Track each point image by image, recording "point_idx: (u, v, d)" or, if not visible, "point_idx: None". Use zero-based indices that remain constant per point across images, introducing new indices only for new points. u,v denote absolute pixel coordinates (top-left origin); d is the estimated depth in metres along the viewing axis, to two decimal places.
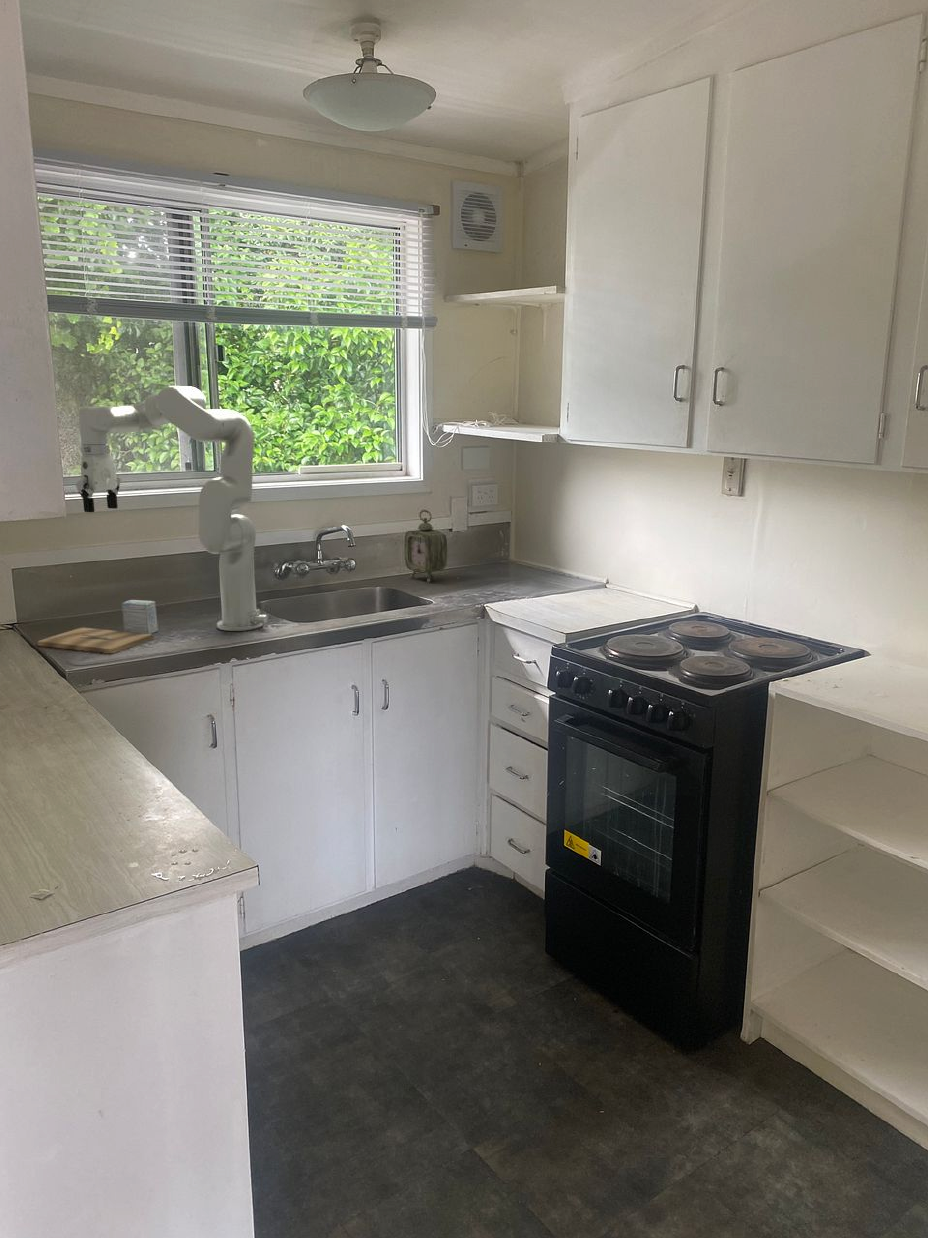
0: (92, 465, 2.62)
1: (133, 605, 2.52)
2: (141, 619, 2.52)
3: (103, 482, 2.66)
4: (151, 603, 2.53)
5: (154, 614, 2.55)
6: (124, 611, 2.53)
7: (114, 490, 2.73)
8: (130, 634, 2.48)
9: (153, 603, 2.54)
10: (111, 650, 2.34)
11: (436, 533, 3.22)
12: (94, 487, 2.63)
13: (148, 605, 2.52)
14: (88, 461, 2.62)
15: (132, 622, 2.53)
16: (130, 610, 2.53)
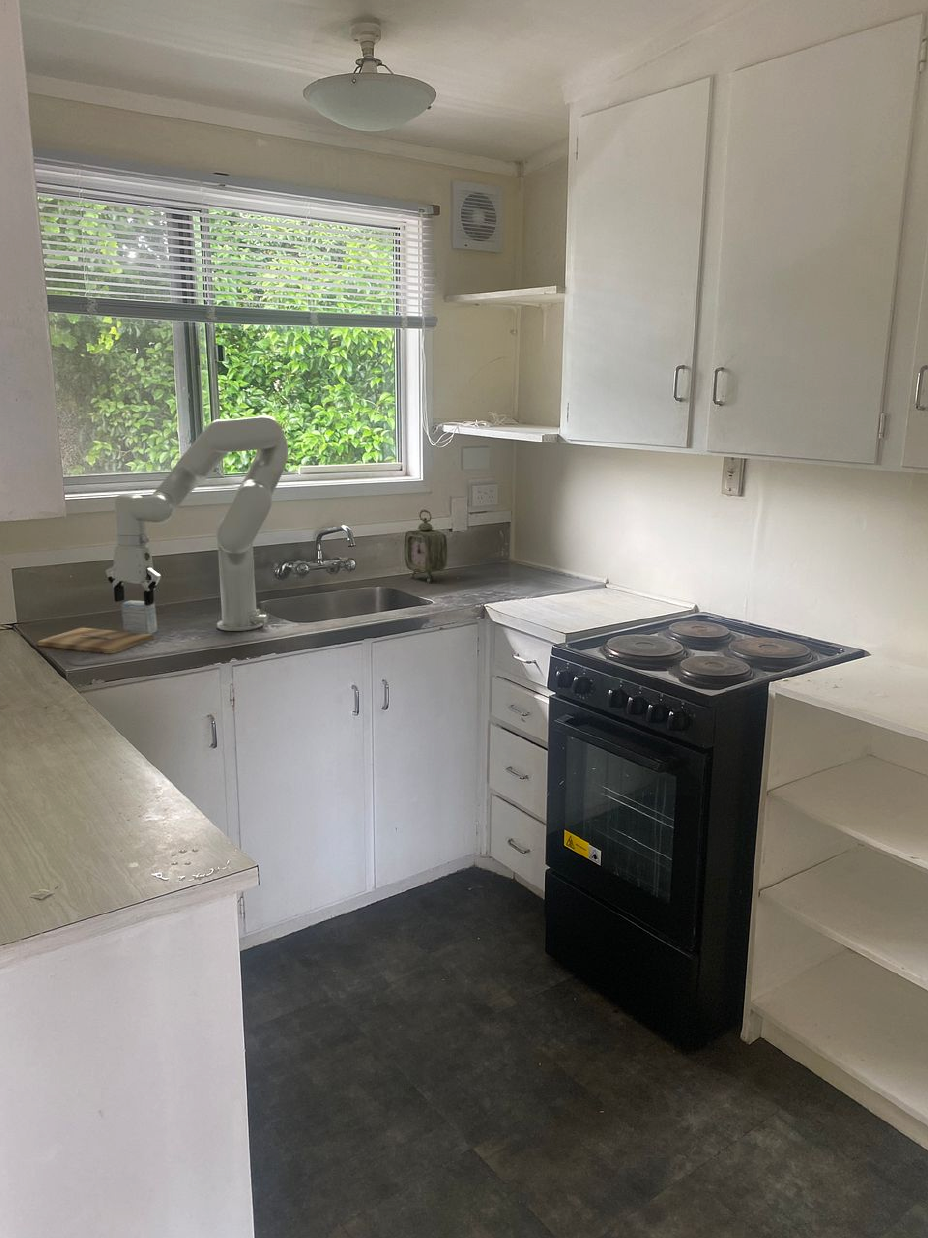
0: None
1: (132, 606, 2.52)
2: (141, 620, 2.52)
3: None
4: (150, 604, 2.53)
5: (153, 615, 2.55)
6: (123, 612, 2.53)
7: None
8: (130, 634, 2.48)
9: (152, 604, 2.54)
10: (111, 650, 2.34)
11: (436, 533, 3.22)
12: None
13: (148, 605, 2.52)
14: (149, 551, 2.50)
15: (132, 623, 2.53)
16: (129, 611, 2.53)
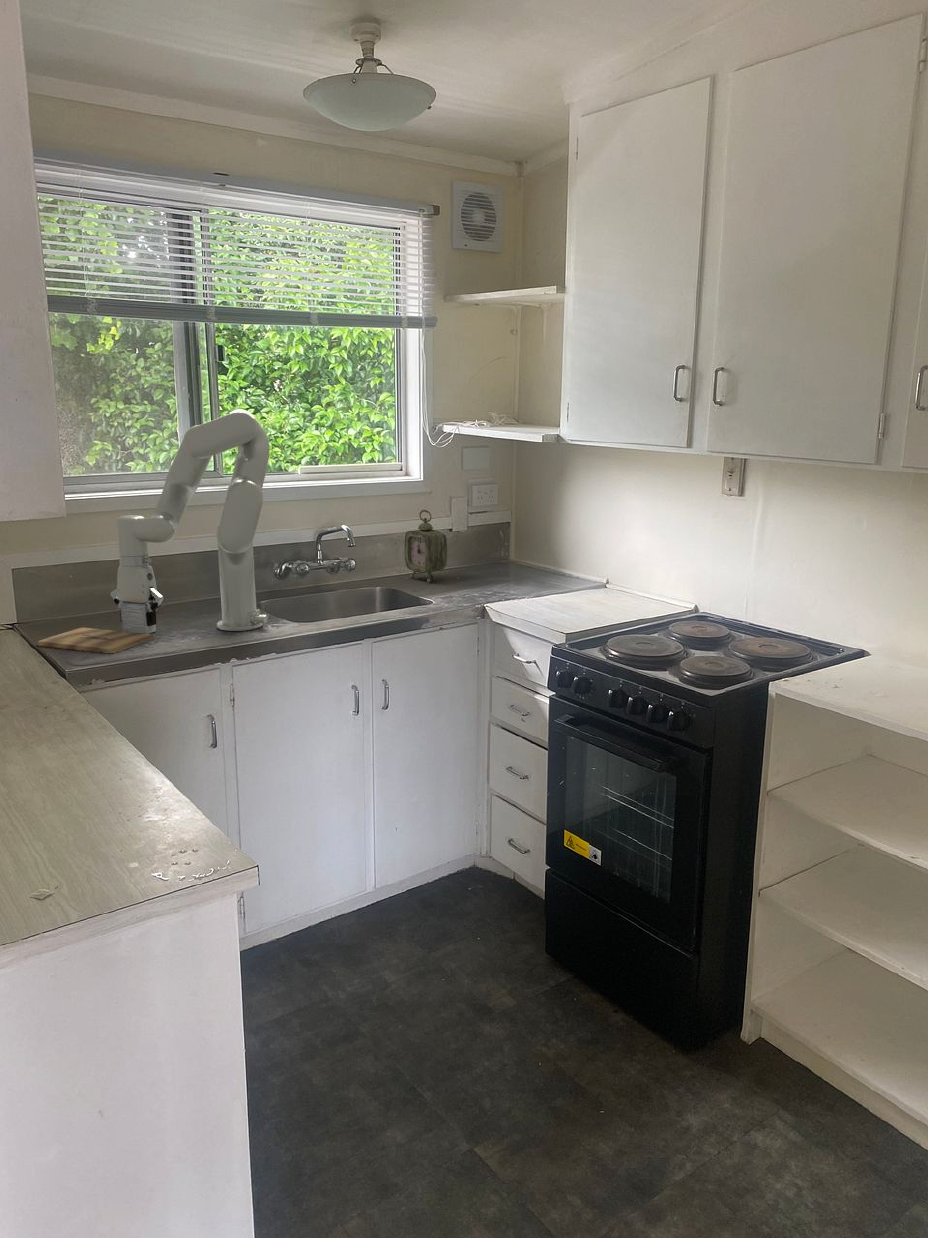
0: None
1: (131, 605, 2.52)
2: (139, 619, 2.52)
3: None
4: (149, 603, 2.53)
5: None
6: (122, 611, 2.53)
7: None
8: (130, 634, 2.48)
9: None
10: (111, 650, 2.34)
11: (436, 533, 3.22)
12: None
13: None
14: (151, 571, 2.51)
15: (130, 622, 2.53)
16: (128, 610, 2.53)
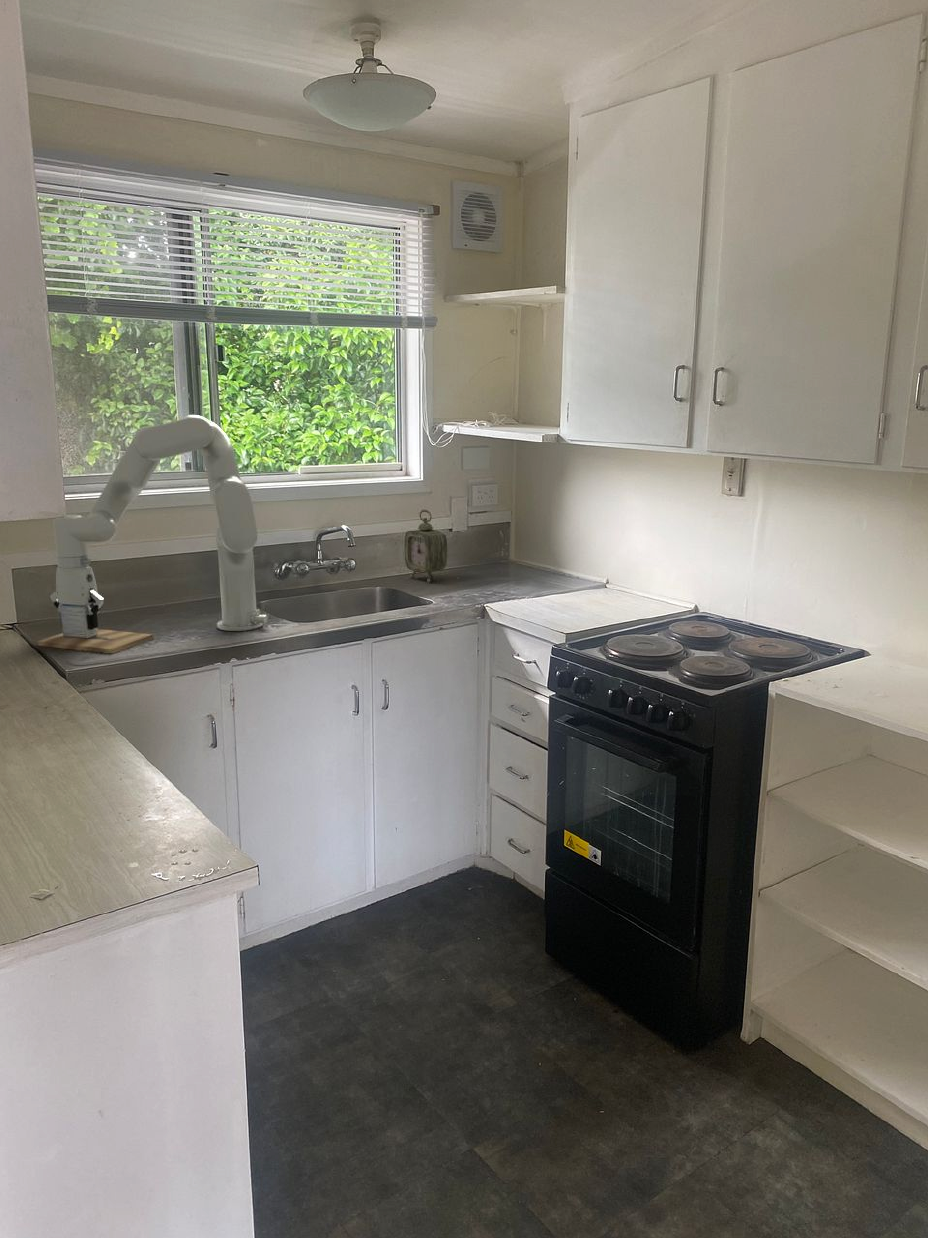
0: (94, 576, 2.44)
1: (71, 608, 2.43)
2: (79, 622, 2.43)
3: None
4: (90, 605, 2.44)
5: None
6: (62, 614, 2.44)
7: None
8: (130, 634, 2.48)
9: None
10: (111, 650, 2.34)
11: (436, 533, 3.22)
12: None
13: None
14: (91, 573, 2.42)
15: (70, 625, 2.44)
16: (67, 613, 2.44)
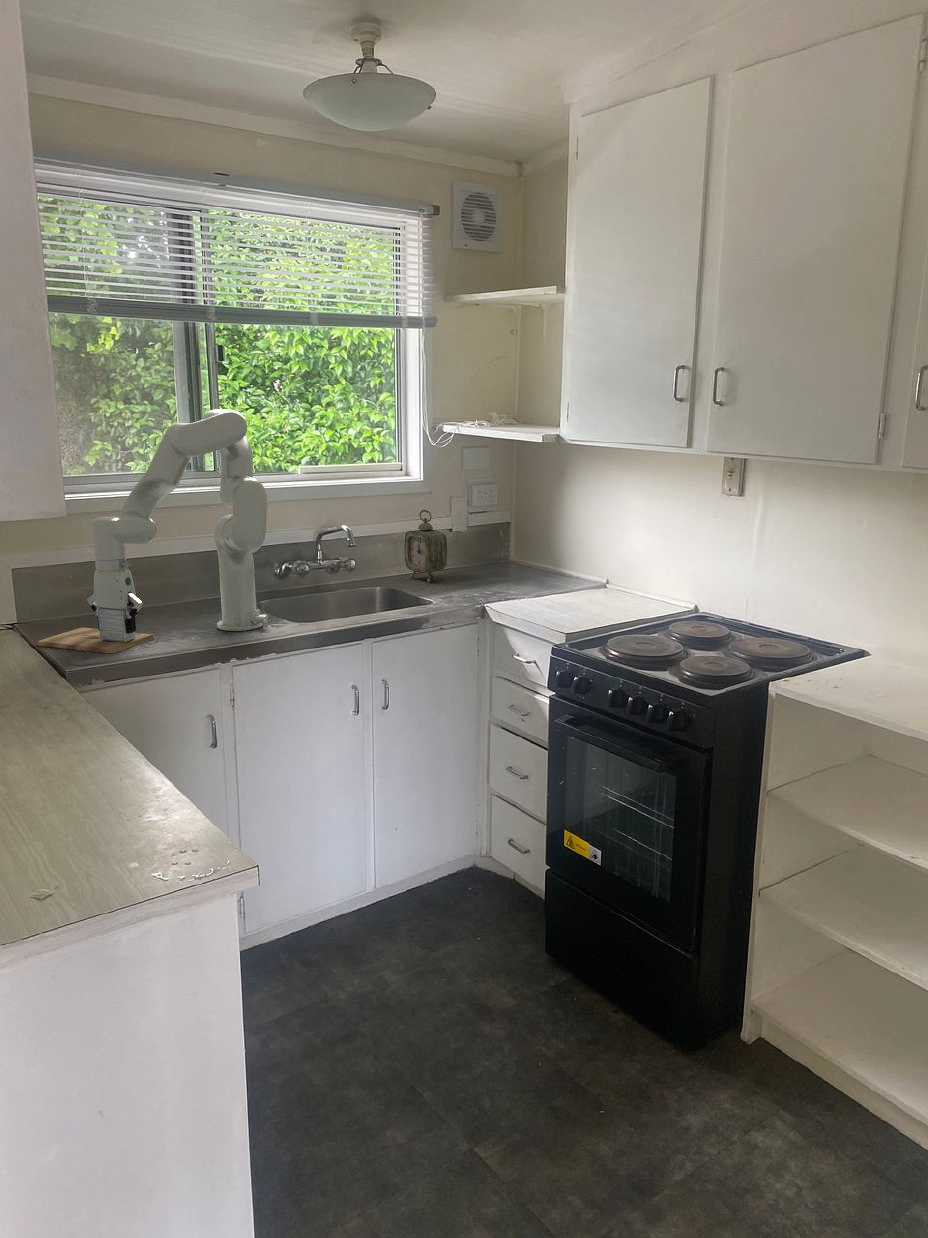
0: (132, 579, 2.40)
1: (109, 611, 2.39)
2: (117, 625, 2.39)
3: None
4: (128, 609, 2.40)
5: None
6: (100, 617, 2.40)
7: None
8: None
9: None
10: (111, 650, 2.34)
11: (436, 533, 3.22)
12: None
13: None
14: (130, 576, 2.38)
15: (108, 629, 2.40)
16: (105, 616, 2.40)
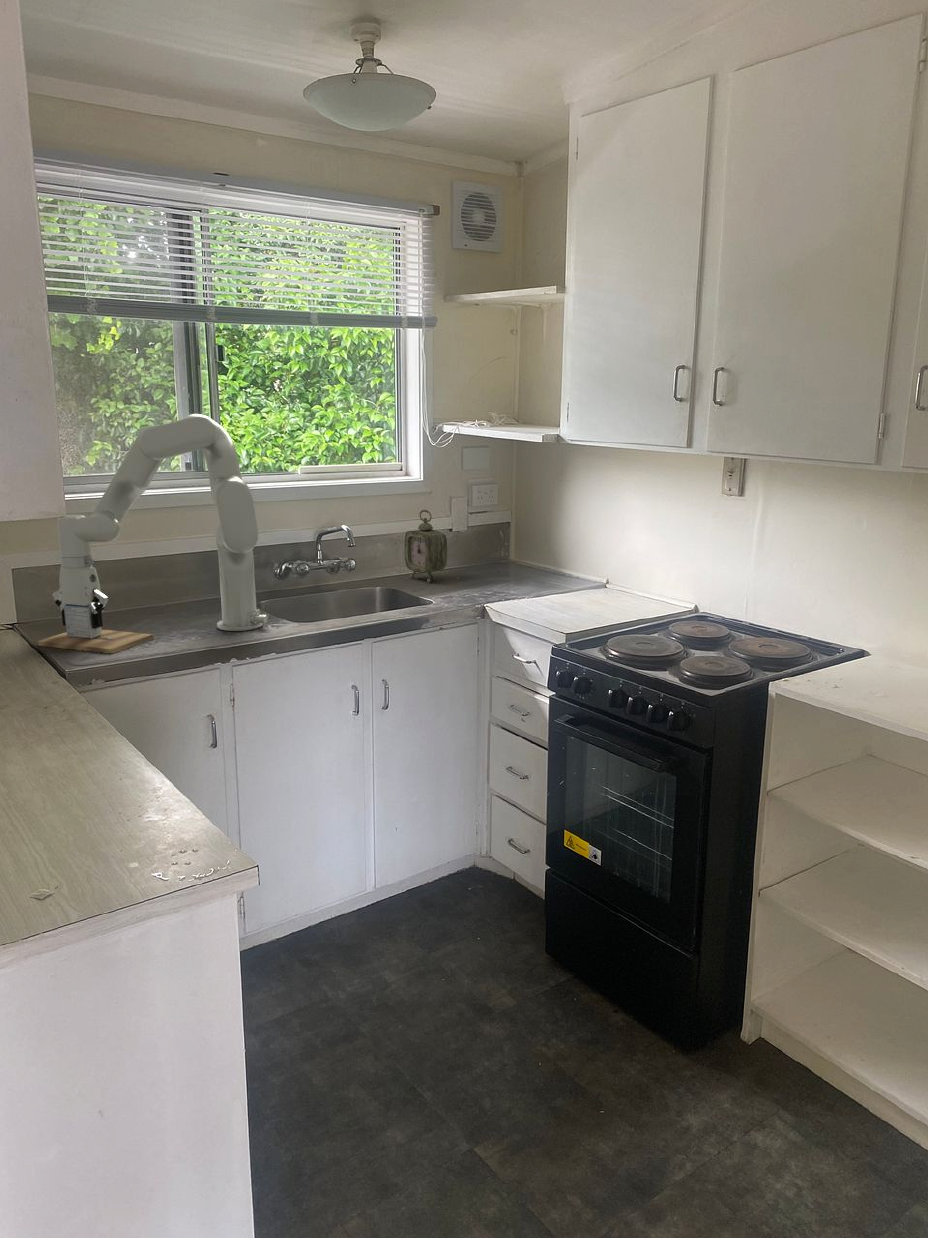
0: (97, 576, 2.43)
1: (75, 608, 2.43)
2: (83, 622, 2.43)
3: None
4: None
5: None
6: (66, 614, 2.44)
7: None
8: (130, 634, 2.48)
9: None
10: (111, 650, 2.34)
11: (436, 533, 3.22)
12: None
13: None
14: (95, 573, 2.42)
15: (74, 626, 2.44)
16: (71, 613, 2.43)
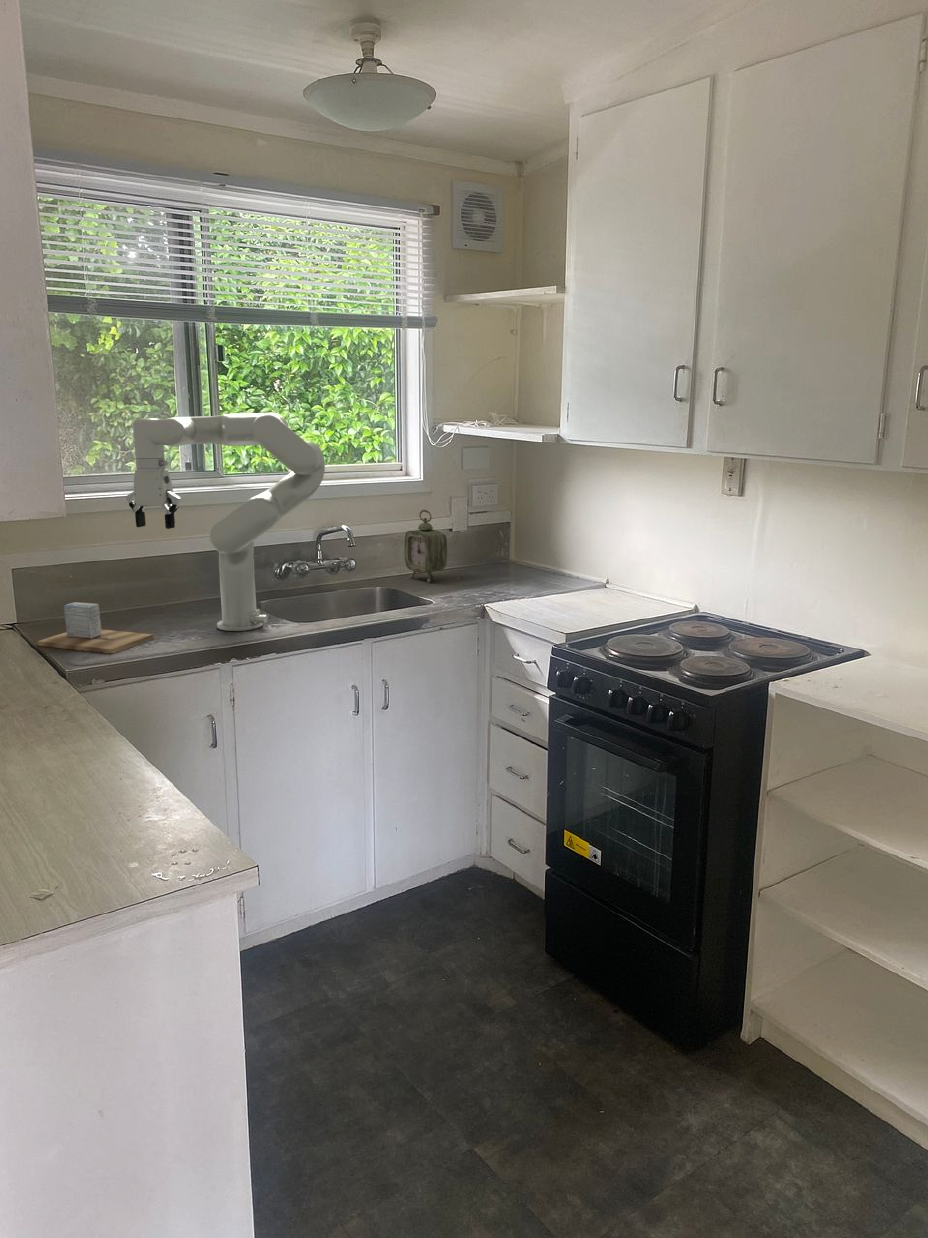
0: (170, 478, 2.53)
1: (75, 608, 2.43)
2: (83, 622, 2.43)
3: None
4: (94, 606, 2.43)
5: (97, 617, 2.45)
6: (66, 614, 2.44)
7: None
8: (130, 634, 2.48)
9: (96, 606, 2.44)
10: (111, 650, 2.34)
11: (436, 533, 3.22)
12: None
13: (90, 608, 2.42)
14: (168, 475, 2.51)
15: (74, 626, 2.44)
16: (71, 613, 2.43)
